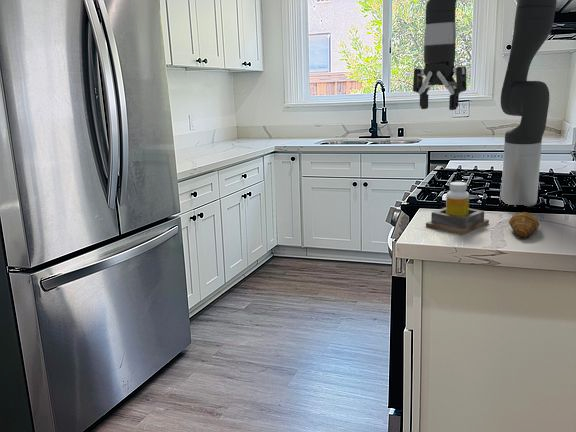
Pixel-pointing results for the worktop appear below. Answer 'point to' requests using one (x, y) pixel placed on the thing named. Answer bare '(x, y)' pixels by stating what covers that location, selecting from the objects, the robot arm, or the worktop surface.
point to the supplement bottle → (457, 200)
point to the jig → (457, 221)
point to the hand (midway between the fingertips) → (438, 109)
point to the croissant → (523, 224)
